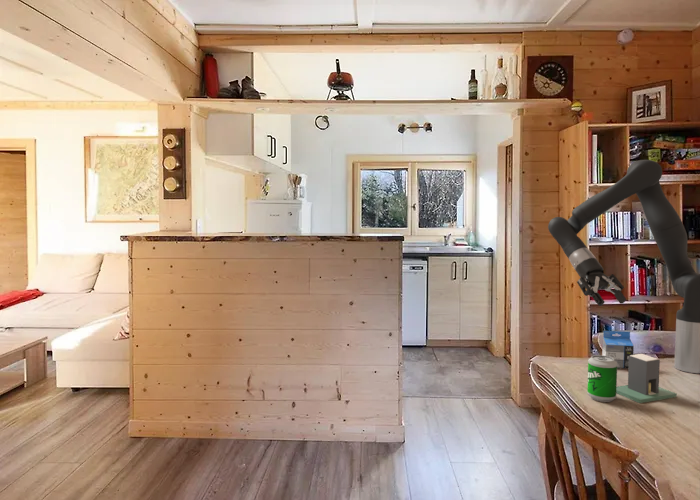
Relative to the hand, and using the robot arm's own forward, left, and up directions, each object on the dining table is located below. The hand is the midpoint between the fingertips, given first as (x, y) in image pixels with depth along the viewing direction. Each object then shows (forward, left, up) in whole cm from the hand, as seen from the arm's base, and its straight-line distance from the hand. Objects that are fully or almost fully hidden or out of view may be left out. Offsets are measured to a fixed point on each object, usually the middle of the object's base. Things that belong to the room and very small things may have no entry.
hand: (613, 303), depth 151 cm
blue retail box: (-16, -5, -26) cm, 31 cm away
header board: (+4, +11, -25) cm, 28 cm away
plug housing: (+4, +11, -24) cm, 27 cm away
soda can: (+17, +5, -26) cm, 31 cm away
